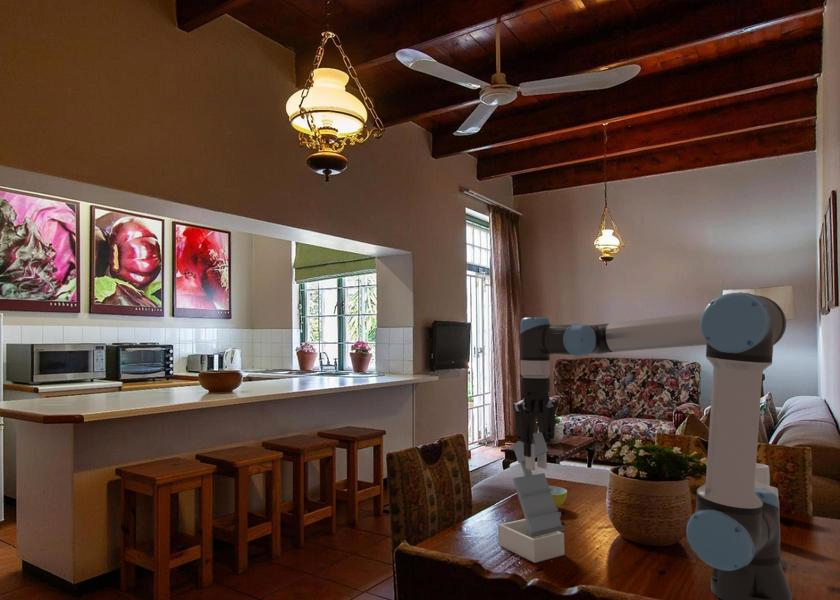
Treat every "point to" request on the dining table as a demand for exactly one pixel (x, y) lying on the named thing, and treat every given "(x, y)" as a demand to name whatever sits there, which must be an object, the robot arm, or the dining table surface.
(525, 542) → the tub
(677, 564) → the dining table surface
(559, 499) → the bowl
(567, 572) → the dining table surface
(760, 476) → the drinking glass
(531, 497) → the grey stepped piece
